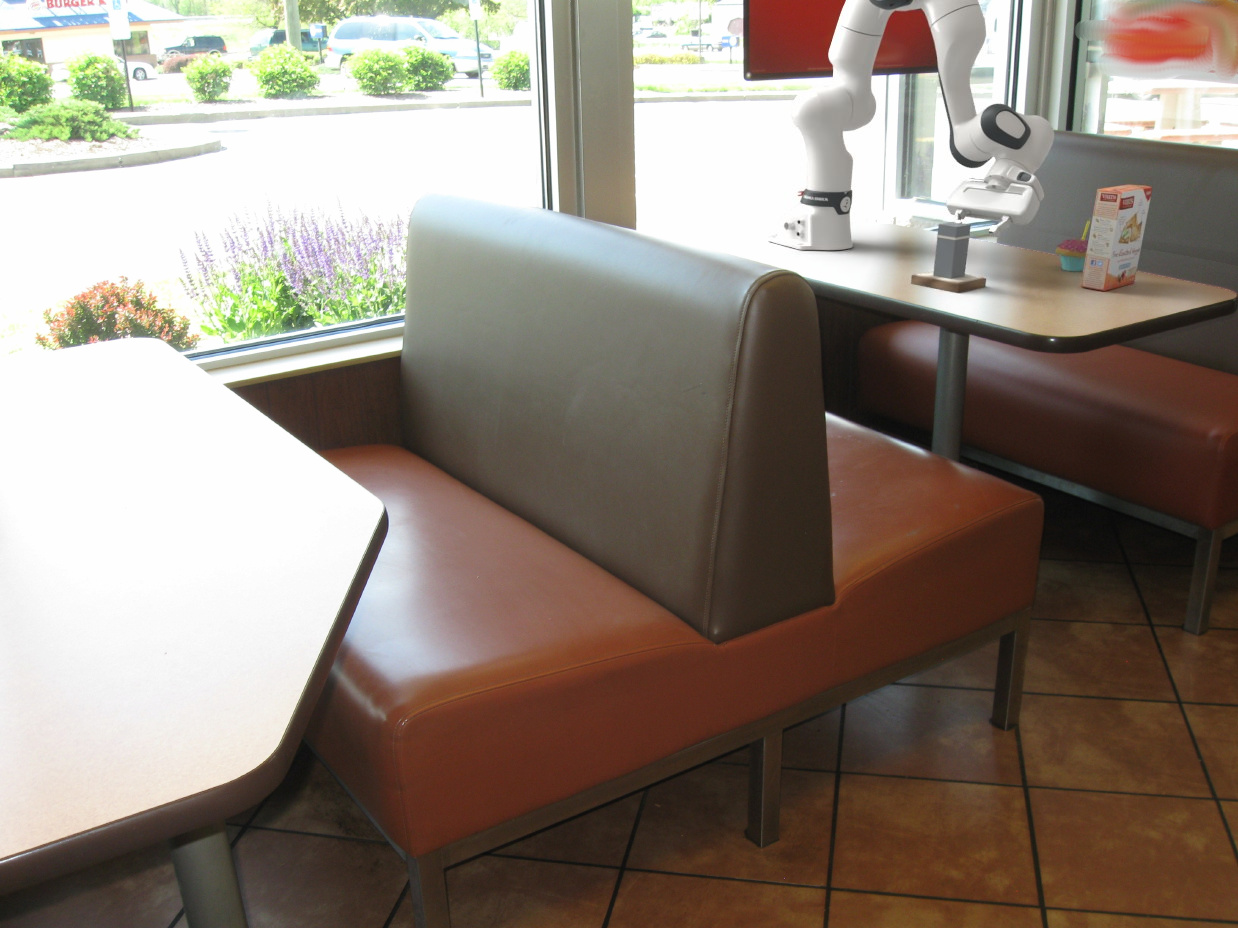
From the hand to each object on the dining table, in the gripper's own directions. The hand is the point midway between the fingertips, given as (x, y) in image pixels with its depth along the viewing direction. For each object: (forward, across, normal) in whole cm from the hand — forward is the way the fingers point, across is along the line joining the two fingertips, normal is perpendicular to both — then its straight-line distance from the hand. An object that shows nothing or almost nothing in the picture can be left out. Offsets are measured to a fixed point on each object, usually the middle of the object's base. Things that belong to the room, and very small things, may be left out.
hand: (973, 232), depth 238 cm
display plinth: (+13, 0, +2) cm, 13 cm away
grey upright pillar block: (+11, 0, +1) cm, 11 cm away
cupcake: (-13, +8, +28) cm, 32 cm away
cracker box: (-6, +22, +22) cm, 31 cm away
